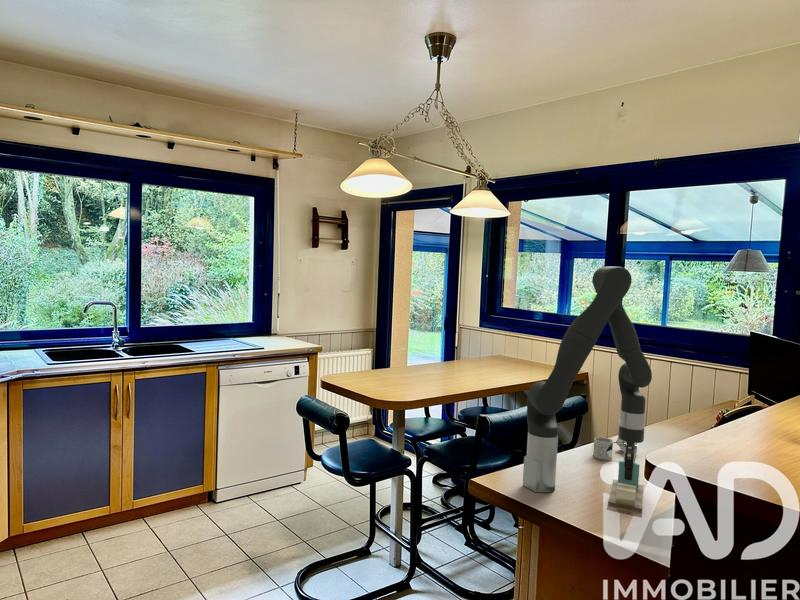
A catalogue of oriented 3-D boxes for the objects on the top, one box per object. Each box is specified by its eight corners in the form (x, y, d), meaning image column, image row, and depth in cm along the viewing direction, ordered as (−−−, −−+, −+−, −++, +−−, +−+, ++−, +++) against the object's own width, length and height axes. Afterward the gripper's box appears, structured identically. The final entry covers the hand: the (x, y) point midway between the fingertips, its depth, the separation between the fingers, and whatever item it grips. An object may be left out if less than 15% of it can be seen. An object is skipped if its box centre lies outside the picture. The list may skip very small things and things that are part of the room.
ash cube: (634, 509, 148) (635, 492, 148) (615, 505, 151) (616, 488, 150) (634, 502, 153) (636, 486, 153) (616, 499, 155) (617, 482, 155)
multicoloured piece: (641, 520, 144) (643, 492, 143) (606, 513, 147) (608, 485, 147) (643, 488, 167) (644, 463, 167) (613, 482, 171) (614, 458, 170)
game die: (630, 462, 203) (643, 447, 197) (609, 452, 205) (622, 437, 199) (631, 445, 210) (644, 430, 204) (610, 436, 212) (622, 421, 206)
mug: (610, 461, 192) (611, 443, 192) (591, 457, 196) (592, 440, 195) (614, 453, 201) (615, 437, 201) (596, 450, 204) (596, 433, 204)
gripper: (644, 432, 159) (640, 488, 160) (644, 422, 172) (641, 473, 172) (617, 428, 163) (614, 482, 163) (620, 418, 175) (617, 469, 176)
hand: (628, 478), depth 168 cm, fingers closed on multicoloured piece, 2 cm apart
